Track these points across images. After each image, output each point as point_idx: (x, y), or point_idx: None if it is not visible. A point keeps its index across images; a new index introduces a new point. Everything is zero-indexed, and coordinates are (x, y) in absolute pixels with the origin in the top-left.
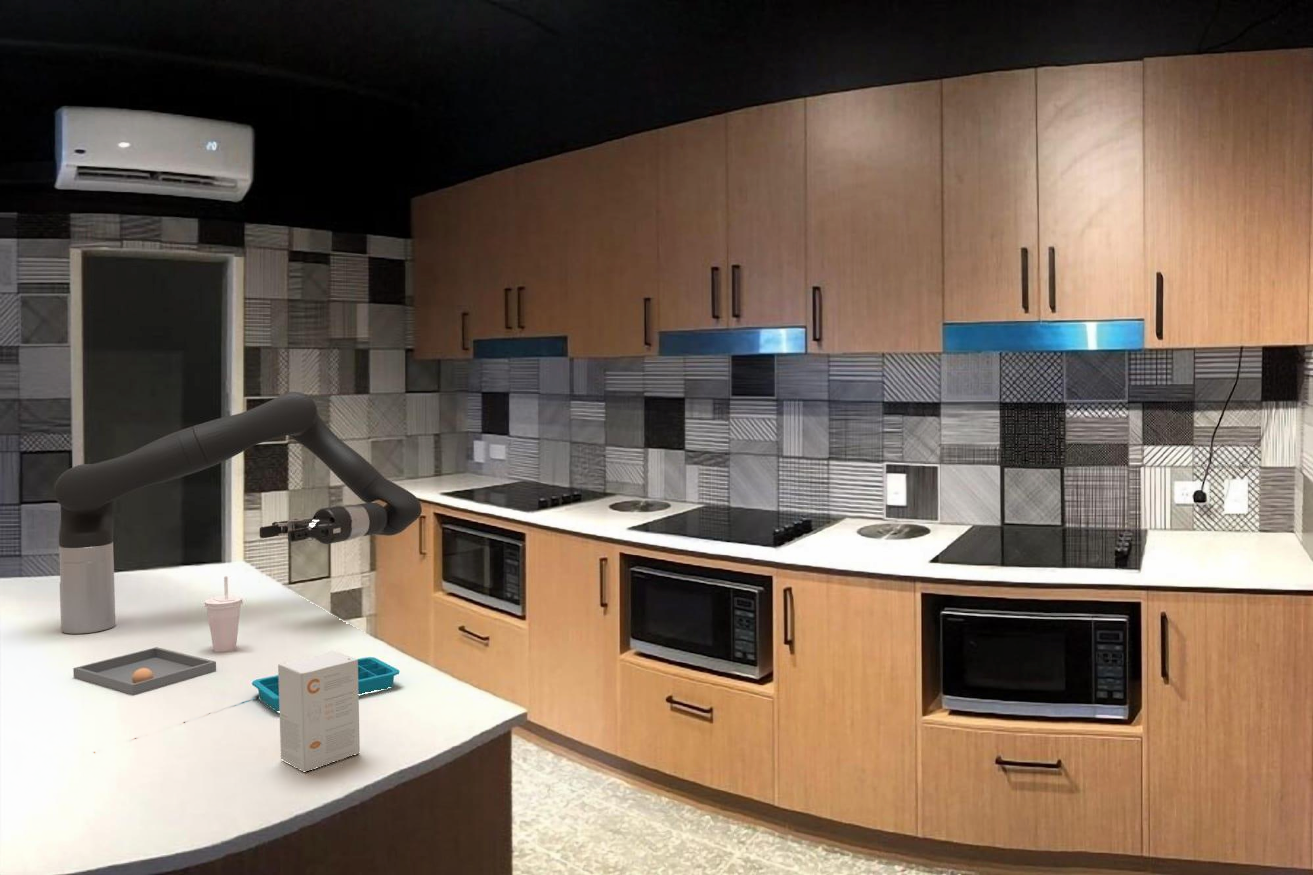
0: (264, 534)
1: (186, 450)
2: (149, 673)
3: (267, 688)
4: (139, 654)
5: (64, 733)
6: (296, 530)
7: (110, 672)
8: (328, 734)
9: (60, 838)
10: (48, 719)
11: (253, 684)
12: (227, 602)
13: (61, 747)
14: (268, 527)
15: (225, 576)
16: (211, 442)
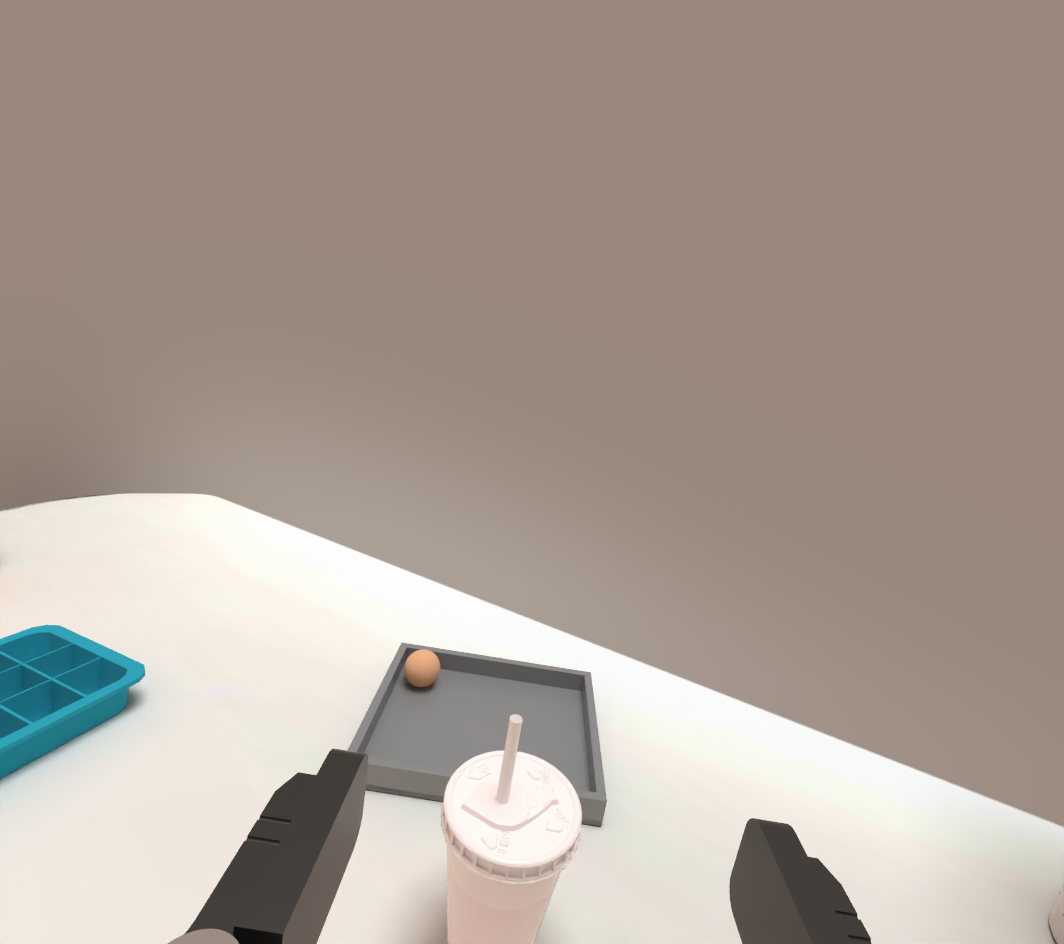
0: (744, 891)
1: None
2: (407, 660)
3: (89, 650)
4: (592, 764)
5: (376, 588)
6: (306, 800)
7: (559, 717)
8: None
9: (196, 505)
10: (440, 605)
11: (137, 663)
12: (465, 779)
13: (343, 571)
14: (777, 884)
15: (518, 719)
16: None
